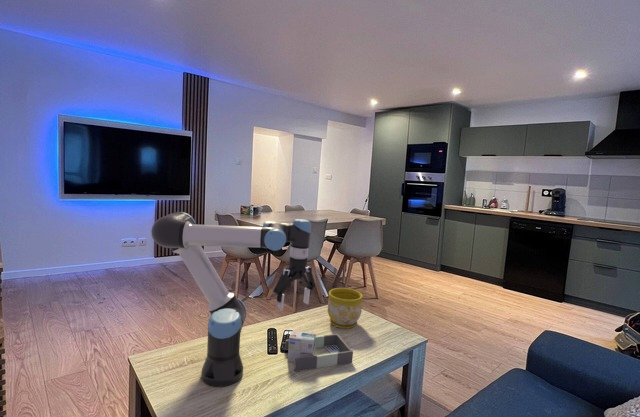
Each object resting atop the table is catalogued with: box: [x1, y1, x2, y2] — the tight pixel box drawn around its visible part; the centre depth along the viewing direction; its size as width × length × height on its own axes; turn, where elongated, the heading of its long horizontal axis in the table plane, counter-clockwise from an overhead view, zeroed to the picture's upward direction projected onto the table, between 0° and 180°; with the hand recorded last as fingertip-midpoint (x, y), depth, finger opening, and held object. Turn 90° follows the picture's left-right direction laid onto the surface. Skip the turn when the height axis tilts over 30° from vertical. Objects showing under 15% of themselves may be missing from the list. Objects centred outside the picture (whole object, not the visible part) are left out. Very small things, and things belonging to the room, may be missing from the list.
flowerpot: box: [327, 287, 364, 330], centre depth 174 cm, size 18×18×16 cm
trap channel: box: [284, 333, 354, 372], centre depth 142 cm, size 25×16×5 cm, turn 111°
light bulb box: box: [287, 330, 317, 363], centre depth 139 cm, size 11×7×11 cm, turn 84°
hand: (293, 306), depth 139 cm, fingers open, 13 cm apart
